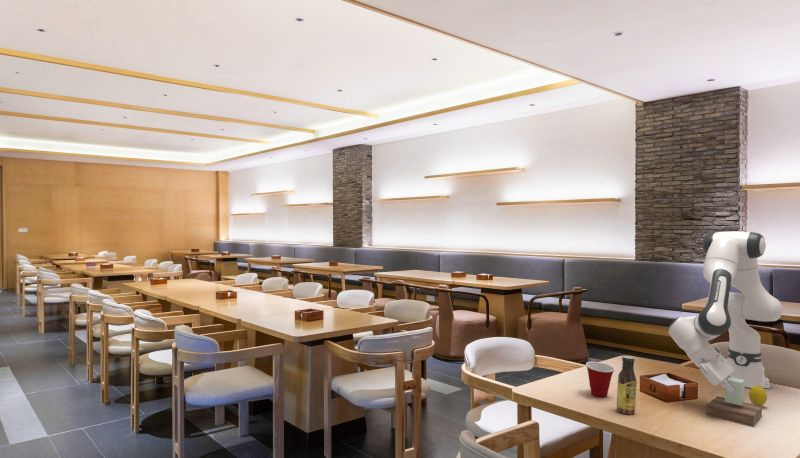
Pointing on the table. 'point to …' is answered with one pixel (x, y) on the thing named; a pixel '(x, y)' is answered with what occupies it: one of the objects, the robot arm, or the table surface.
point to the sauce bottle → (626, 387)
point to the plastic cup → (599, 378)
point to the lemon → (757, 395)
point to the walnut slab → (734, 411)
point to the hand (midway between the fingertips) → (735, 389)
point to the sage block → (739, 392)
